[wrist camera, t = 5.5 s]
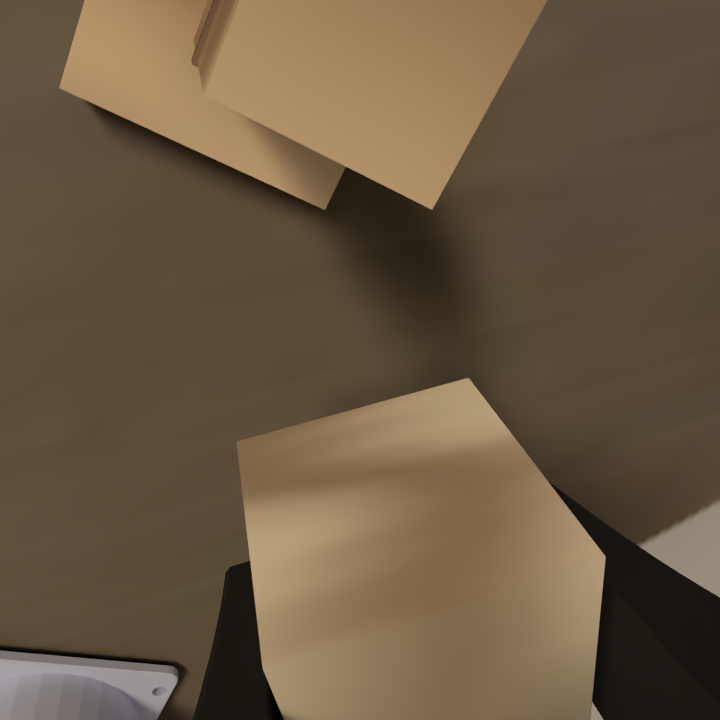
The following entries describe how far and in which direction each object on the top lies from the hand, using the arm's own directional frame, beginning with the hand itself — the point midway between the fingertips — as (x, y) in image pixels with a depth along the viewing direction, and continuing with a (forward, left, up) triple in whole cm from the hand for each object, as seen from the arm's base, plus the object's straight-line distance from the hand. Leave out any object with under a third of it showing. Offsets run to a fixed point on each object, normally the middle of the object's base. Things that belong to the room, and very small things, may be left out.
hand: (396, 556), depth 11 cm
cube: (0, 0, -2) cm, 2 cm away
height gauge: (+7, +5, -8) cm, 12 cm away
